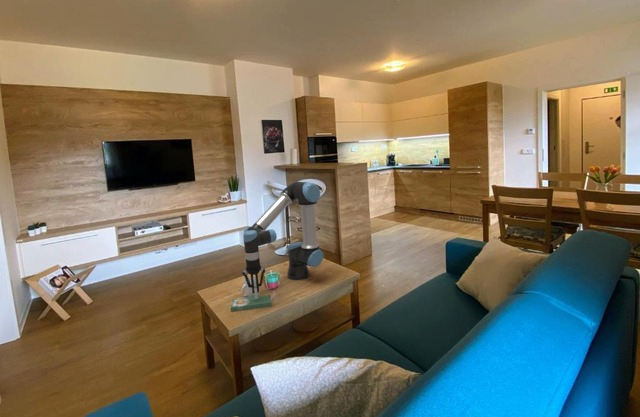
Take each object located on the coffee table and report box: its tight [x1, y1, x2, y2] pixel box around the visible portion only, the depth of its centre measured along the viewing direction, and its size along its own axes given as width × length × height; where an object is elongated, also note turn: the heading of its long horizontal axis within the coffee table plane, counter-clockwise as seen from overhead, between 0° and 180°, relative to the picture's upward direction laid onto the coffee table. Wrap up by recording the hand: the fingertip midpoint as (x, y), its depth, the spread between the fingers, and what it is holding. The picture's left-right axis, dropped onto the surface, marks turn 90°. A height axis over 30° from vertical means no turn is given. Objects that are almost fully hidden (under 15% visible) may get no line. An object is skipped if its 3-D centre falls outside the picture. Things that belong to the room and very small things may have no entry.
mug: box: [240, 276, 261, 298], centre depth 200 cm, size 9×12×11 cm
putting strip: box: [230, 294, 272, 313], centre depth 191 cm, size 22×10×2 cm, turn 100°
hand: (256, 297), depth 191 cm, fingers closed
